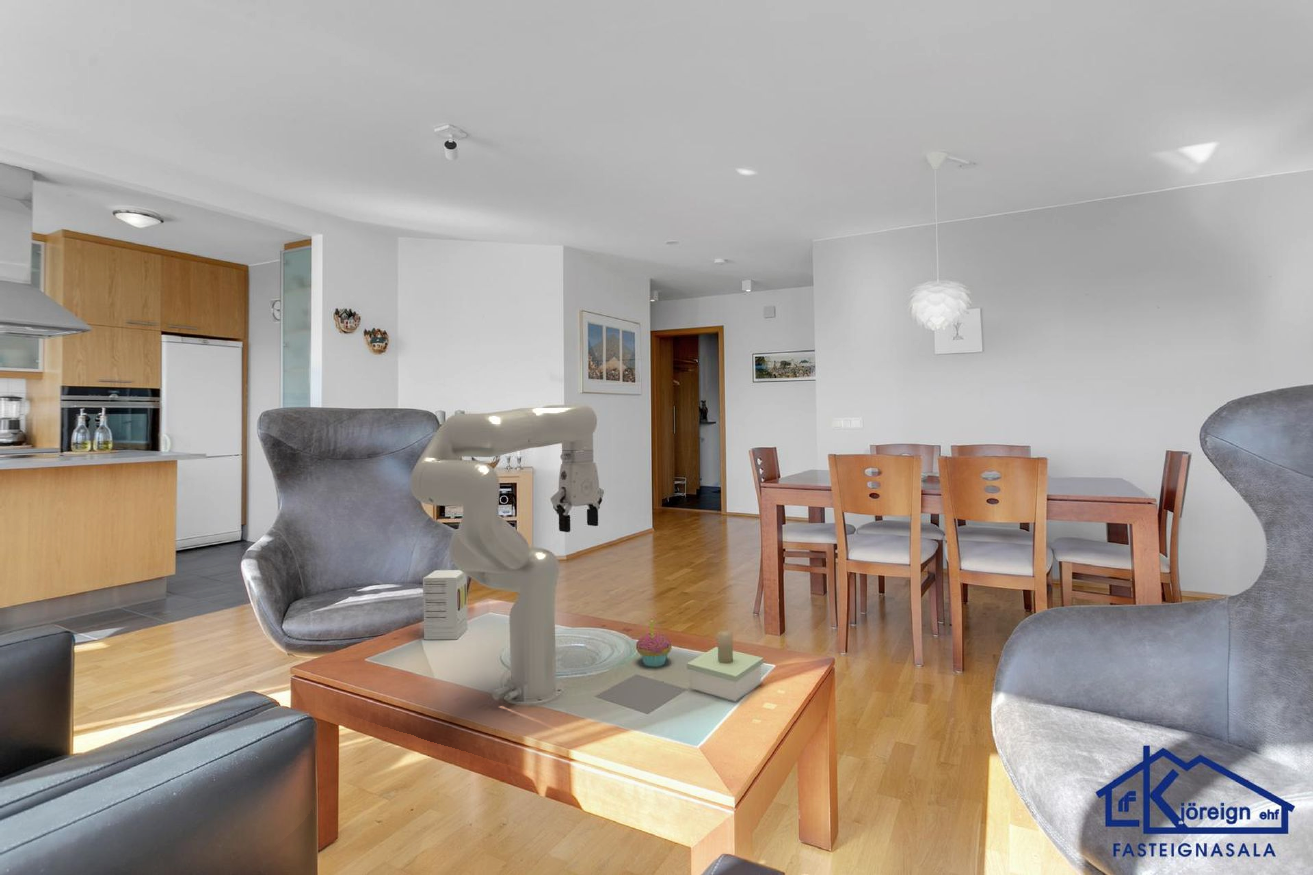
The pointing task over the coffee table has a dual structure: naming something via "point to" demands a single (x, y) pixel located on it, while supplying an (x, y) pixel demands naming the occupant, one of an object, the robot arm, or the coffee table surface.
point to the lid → (725, 660)
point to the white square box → (725, 685)
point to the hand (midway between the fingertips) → (579, 528)
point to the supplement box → (445, 604)
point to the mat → (641, 693)
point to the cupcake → (653, 648)
